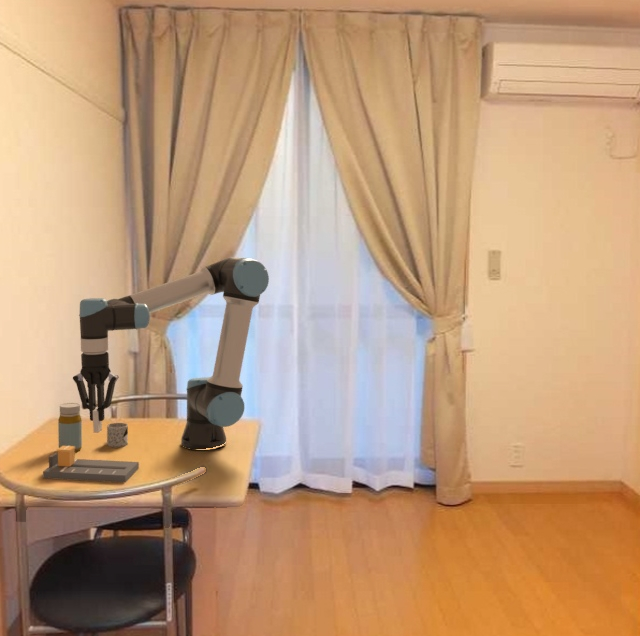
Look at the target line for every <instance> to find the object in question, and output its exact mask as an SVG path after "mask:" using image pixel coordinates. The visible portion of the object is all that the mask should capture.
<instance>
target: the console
mask: <svg viewBox="0 0 640 636" xmlns="http://www.w3.org/2000/svg"><path fill="white" fill-rule="evenodd" d="M139 465H140V463H139V461H126V460H125V461H123V460H103V459H102V460H101V459H86V458H85V459H84V458H83V459H80V458H75V463H74V464H72V465H71V466H70V467H68V466H58V452H54V453H53V454H51V455H49V456H48V467H47V468H46V469H44V470H43V471H42V478H43V479H49V478H51V480H69V481H73V480H74V481H92V482H93V481H94V482H109V481H111V482H114V483H127V481H128V480H129V479H130V478H131V477H132V476H133V475H134V474H135V473H136V472H137V471H138V470H139V469H140V466H139Z"/></svg>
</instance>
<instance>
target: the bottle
mask: <svg viewBox="0 0 640 636" xmlns="http://www.w3.org/2000/svg"><path fill="white" fill-rule="evenodd" d="M80 404H81V403H79V402H67V403H61V404H60V405H59V417H58V422H57V423H58V424H57V425H58V426H57V427H58V431H57V432H58V449H59V448H60V447H62V446H75V453H77V452H80V451H81V449H82V448H83V447H82V446H83V445H82V444H83V441H82V440H83V438H82V437H83V435H82V434H83V433H82V428H83V427H82V425H83V424H82V416H81V405H80Z"/></svg>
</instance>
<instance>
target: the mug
mask: <svg viewBox="0 0 640 636" xmlns="http://www.w3.org/2000/svg"><path fill="white" fill-rule="evenodd" d="M128 430H129V425H128V423H126V422H112V423H109V424H107V425H106V446H107V447H109V448H123V447H126V446H128V445H129V443H128V441H129V435H128V434H129V431H128Z"/></svg>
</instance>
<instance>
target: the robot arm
mask: <svg viewBox="0 0 640 636" xmlns="http://www.w3.org/2000/svg"><path fill="white" fill-rule="evenodd" d="M269 279H270V277H269V272H268V270H267V268H266V267H265V266H264V264H263V263H262V262H261V261H259V260H256V259H254V258H253V259H252V258H251V257H250V258H249V257H235V256H232V257H227V258H225V259H221V260H220V261H217V262H214V263H211V264H209V265H206V266H203V267H201V269H200V270H199V272H198V271H197V272H195V273H192V274H189V275H186V276H184V277H180V278H177V279H174V280H172V281H168V282H166V283H162V284H159V285H156V286H153V287H151V288H147V289H144V290H141V291H138V292H135V293H133V294H129V295H126V296H124V297H121V298H112V299H108V300H107V299H106V298H100V297H98V298H94V297H93V298H92V297H89V298H83V299H82V300H80V302H79V315H78V316H79V330H80V351H81V355H80V356H81V359H80V360H81V369H80V370H79V373H77V374H76V375H73V377H72V380H73V381H74V383H75V384H76V387H77V391H78V394H79V398H80V401H81V405H82V408H83V409H87V410H89V420H90V422H91V421H92V428H93V430H92V431H93V433H95V434H97V433H100V432H102V430H103V424H102V422H103V421H104V420H105V409H108V408H110V407H111V405H112V400H113V395H114V390H115V387H116V382H117V381H118V380H119V375H118V374H114V373H112V372H111V368H110V366H109V365H110V361H109V360H110V358H109V352H108V351H109V331H110V332H111V331H112V332H113V331H125V330H126V331H127V330H140V329H141V330H142V329H147V328H148V326H149V325H150V319H151V318H150V317H151V316H150V314H152V313H155V312H158V311H161V310H164V309H166V308H169V307H173V306H174V305H178V304H181V303H185V302H186V301H190V300H192V299H196V298H198V297H201V296H203V295H204V296H205V295H206V294H208V295H210V296H213V295H216V294H219V293H223V295H222V298H223V299H224V301H225V303H226V304H225V308H224V309H225V310H224V315H223V319H222V324H221V330H220V336H219V339H218V346H217V351H216V356H215V360H214V361H215V362H214V366H213V374H212V376H210V377H209V376H207V377H205V376H204V377H195V378H190V379H189V380H188V381H187V385H186V386H187V387H186V424H185V427H184V429H183V431H182V432H183V433H182V435H181V439H180V444H181V446H182V447H183V446H184V447H186V448H185V449H187V448H190V449H189V450H191V449H206V448H213V447H216V446H220V445H222V444H224V443H225V442H226V443H227V436H226V435H227V434H226V433H225V430H224V428H228V427H231V426H233V425H235V424H236V423H237V422H239V421H240V420H241V418H242V416H243V414H244V413H245V402H244V399H243V398H242V391H243V384H242V383H241V381H240V376H241V371H242V366H243V362H244V361H243V360H244V355H245V351H246V346H247V345H246V344H247V340H248V334H249V329H250V324H251V319H252V313H253V309H254V307H256V306H257V305H258V304H259V303H260V298H261V295H262V294H263V293H264V292H265V291H266V290H267V288H268V286H269V282H270V281H269ZM107 379H108V383H107V384H108V385H107V388H106V394H105V381H106V380H107ZM84 380H85V381H86V383H87V384H86V385H87V388H86V385H85V382H84ZM87 391H88V392H87ZM96 397H97V398H96ZM184 447H183V448H184Z"/></svg>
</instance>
